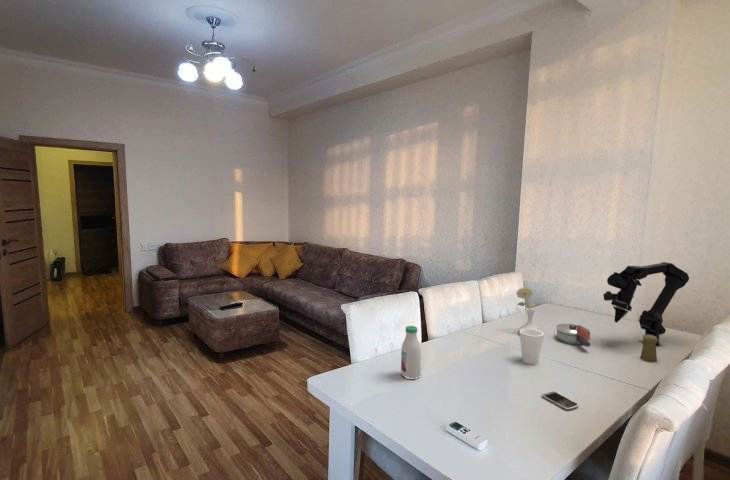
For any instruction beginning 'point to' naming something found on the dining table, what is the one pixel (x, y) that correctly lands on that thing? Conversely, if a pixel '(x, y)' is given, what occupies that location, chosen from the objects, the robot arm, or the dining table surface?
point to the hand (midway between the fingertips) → (615, 322)
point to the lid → (574, 330)
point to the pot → (572, 339)
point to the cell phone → (560, 401)
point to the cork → (649, 348)
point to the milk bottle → (411, 354)
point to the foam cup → (531, 345)
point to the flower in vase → (525, 294)
